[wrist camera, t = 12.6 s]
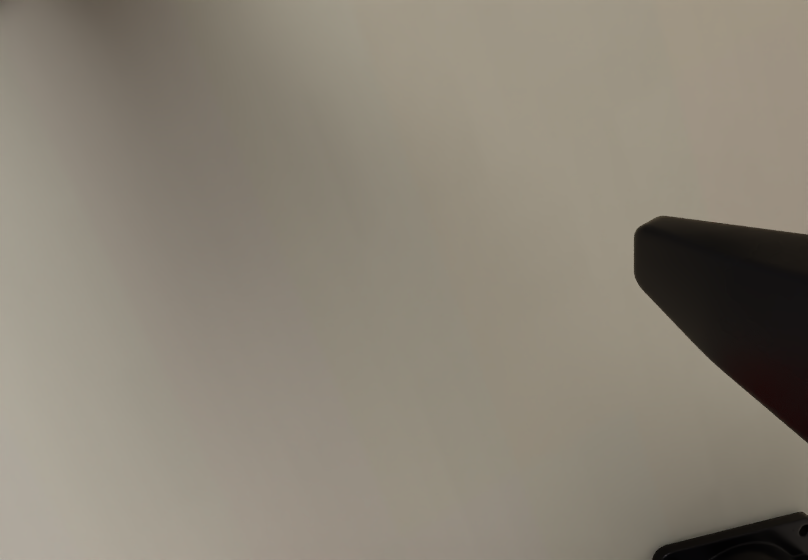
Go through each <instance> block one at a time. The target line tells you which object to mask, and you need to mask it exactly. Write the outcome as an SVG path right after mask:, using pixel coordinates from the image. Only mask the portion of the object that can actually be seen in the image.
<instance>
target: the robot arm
mask: <svg viewBox="0 0 808 560" xmlns="http://www.w3.org/2000/svg"><path fill="white" fill-rule="evenodd" d="M634 275H635V278H636V280H637V283H638V284H639V286H640V287H641V288H642V290H643V291H644V292H645V293H646V294H647V295H648V296H649V297H650V298H651V299H652V300H653V301H654V302H655V303H656V304H657V305H658V306H659V307H660V308H661V310H662V311H663V312H664V313H665V314H666V315H667V316H668V317H669V318H670V319H671V320H672V321H673V322H674V323H675V324H676V325H677V326H678V327H679V328H680V329H681V330H682V331H683V332H684V333H685V335H686V336H687V337H688V338H689V339H690V340H691V341H692V342H693V343H694V344H695V345H696V346H697V347H698V348H699V349H700V350H701V351H702V352H703V353H704V354H705V355H706V356H707V357H708V358H709V359H710V360H711V361H712V362H713V363H715V364H716V365H717V366H718V367H719V368H720V369H721V370H722V371H723V372H725V373H726V374H727V375H728V376H729V377H731V378H732V379H733V380H734V381H735V382H736V383H738V384H739V385H740V386H741V387H742V388H743V389H745V390H746V391H747V392H748V393H749V394H751V395H752V396H753V397H754V398H755V399H756V400H758V401H759V402H760V403H761V404H762V405H763V406H765V407H766V408H767V409H768V410H769V411H771V412H772V413H773V414H774V415H775V416H776V417H778V418H779V419H780V420H781V421H782V422H784V423H785V424H786V425H787V426H788V427H789V428H791V429H792V430H793V431H794V432H795V433H796V434H798V435H799V436H800V437H801V438H802V439H804V440H805V441H806V442H807V443H808V235H806V234H799V233H791V232H784V231H776V230H768V229H761V228H753V227H746V226H738V225H730V224H723V223H715V222H708V221H700V220H692V219H685V218H677V217H669V216H659V217H656V218H654V219H653V220H651V221H649V222H647V223H645V224H643V225H642V226H640V227H639V228H638V229H637V230H636V232H635V235H634ZM652 560H808V515H807V514H805V513H803V512H797V513H793V514H789V515H785V516H781V517H777V518H773V519H769V520H765V521H761V522H757V523H753V524H749V525H745V526H741V527H737V528H733V529H729V530H725V531H721V532H717V533H713V534H709V535H705V536H701V537H697V538H693V539H689V540H685V541H681V542H677V543H673V544H669V545H665V546H663V547H661V548H659V549H658V550H657V551H656V553H655V554H654V556H653V559H652Z"/></svg>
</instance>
